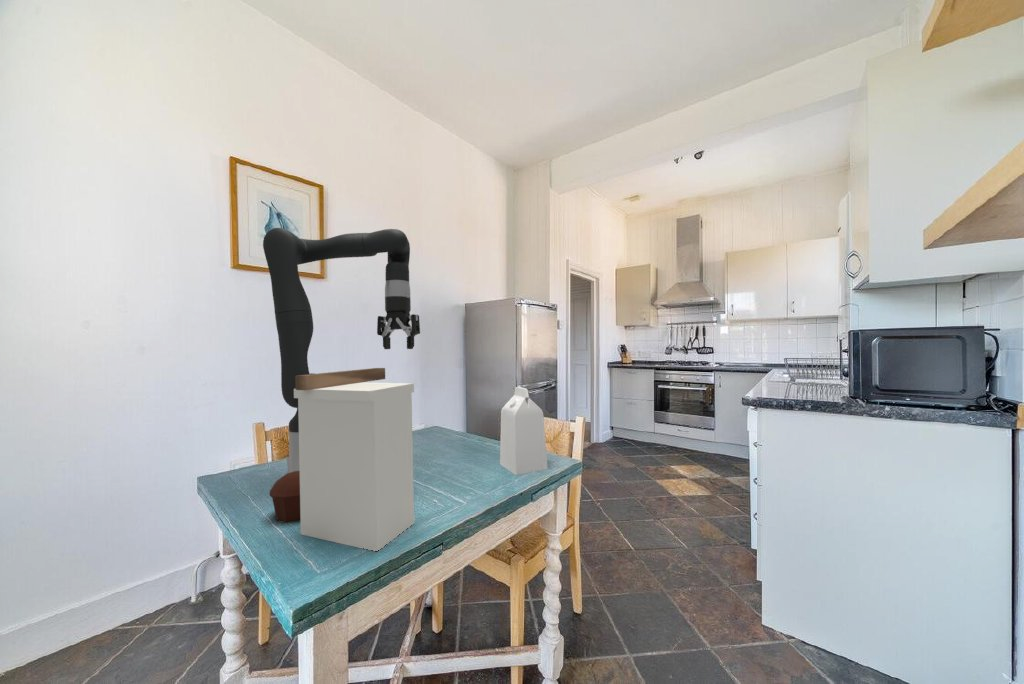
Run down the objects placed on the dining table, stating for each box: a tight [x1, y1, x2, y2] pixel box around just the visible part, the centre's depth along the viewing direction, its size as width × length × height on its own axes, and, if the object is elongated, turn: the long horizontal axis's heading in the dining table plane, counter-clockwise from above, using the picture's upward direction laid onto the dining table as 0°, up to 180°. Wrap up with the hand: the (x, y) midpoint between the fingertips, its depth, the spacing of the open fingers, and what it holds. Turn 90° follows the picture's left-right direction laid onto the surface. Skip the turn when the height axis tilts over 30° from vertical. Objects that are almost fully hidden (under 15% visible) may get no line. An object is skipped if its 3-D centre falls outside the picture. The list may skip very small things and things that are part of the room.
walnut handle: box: [295, 367, 386, 390], centre depth 87 cm, size 3×24×3 cm, turn 159°
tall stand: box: [294, 382, 415, 552], centre depth 81 cm, size 21×14×32 cm, turn 69°
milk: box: [499, 386, 549, 476], centre depth 120 cm, size 12×12×26 cm
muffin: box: [269, 471, 301, 523], centre depth 89 cm, size 12×11×10 cm
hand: (398, 349), depth 111 cm, fingers open, 8 cm apart
